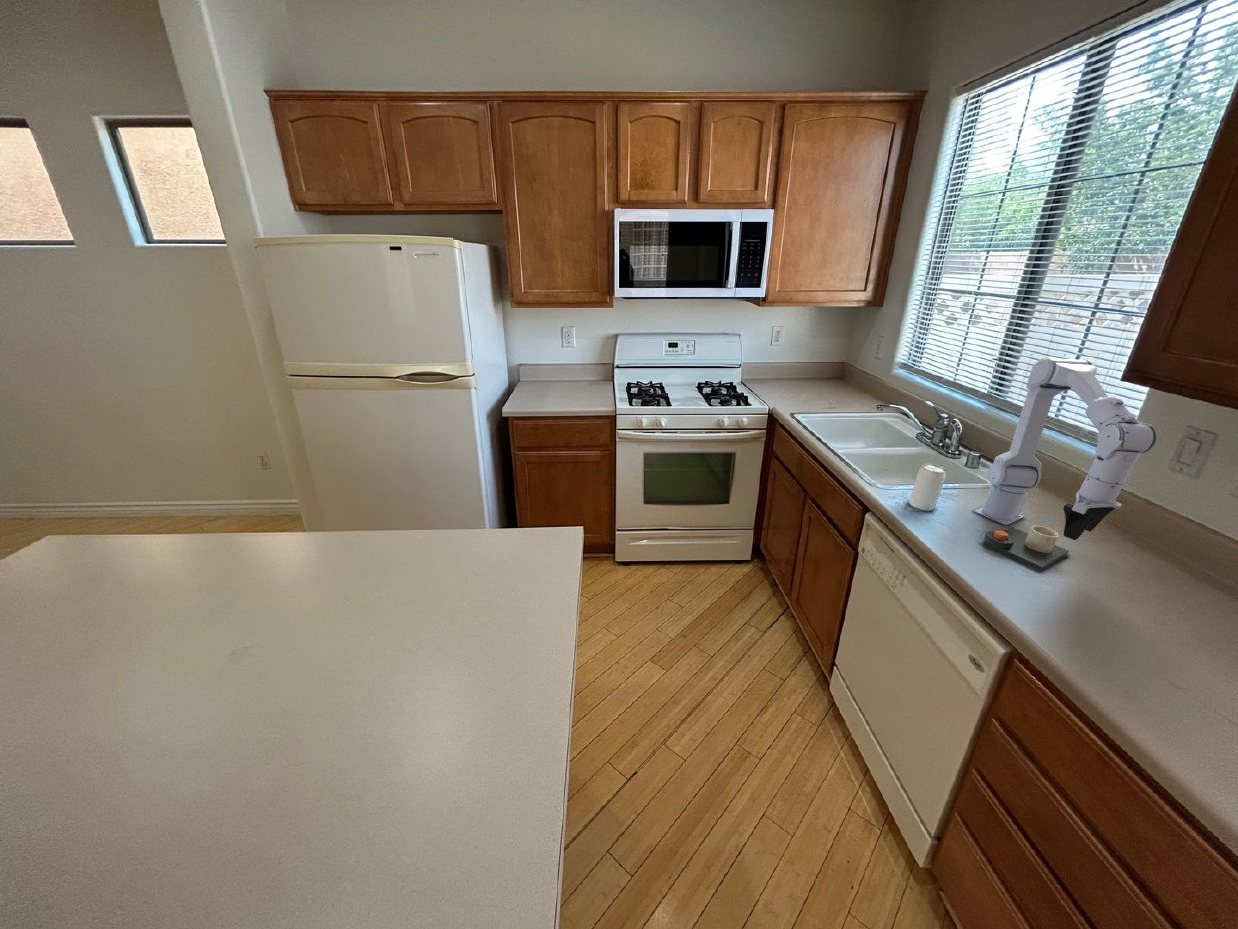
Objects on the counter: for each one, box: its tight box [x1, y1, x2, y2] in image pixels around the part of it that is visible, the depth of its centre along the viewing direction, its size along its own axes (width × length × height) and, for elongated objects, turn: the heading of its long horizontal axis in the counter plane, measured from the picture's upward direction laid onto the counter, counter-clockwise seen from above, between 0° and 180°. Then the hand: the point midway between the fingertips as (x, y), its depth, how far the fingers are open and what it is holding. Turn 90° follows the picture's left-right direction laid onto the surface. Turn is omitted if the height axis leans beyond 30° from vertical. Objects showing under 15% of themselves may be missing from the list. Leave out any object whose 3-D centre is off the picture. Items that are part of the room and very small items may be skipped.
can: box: [908, 463, 947, 512], centre depth 133 cm, size 6×6×12 cm
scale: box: [982, 526, 1069, 572], centre depth 116 cm, size 15×13×3 cm
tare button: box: [993, 529, 1008, 541], centre depth 116 cm, size 3×3×2 cm
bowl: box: [1024, 525, 1060, 553], centre depth 115 cm, size 5×5×4 cm
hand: (1077, 533), depth 105 cm, fingers open, 7 cm apart
